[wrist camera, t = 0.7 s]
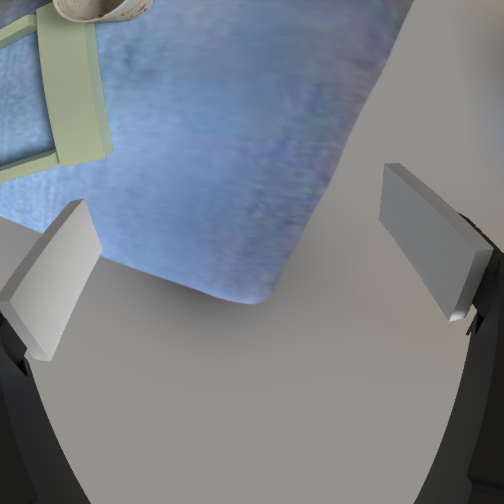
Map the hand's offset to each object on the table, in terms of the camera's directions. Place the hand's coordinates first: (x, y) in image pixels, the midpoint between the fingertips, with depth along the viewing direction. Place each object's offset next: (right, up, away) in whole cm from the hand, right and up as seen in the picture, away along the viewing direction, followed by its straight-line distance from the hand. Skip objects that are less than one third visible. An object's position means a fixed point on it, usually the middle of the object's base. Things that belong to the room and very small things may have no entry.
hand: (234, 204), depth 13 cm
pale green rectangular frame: (-27, +17, +15) cm, 35 cm away
